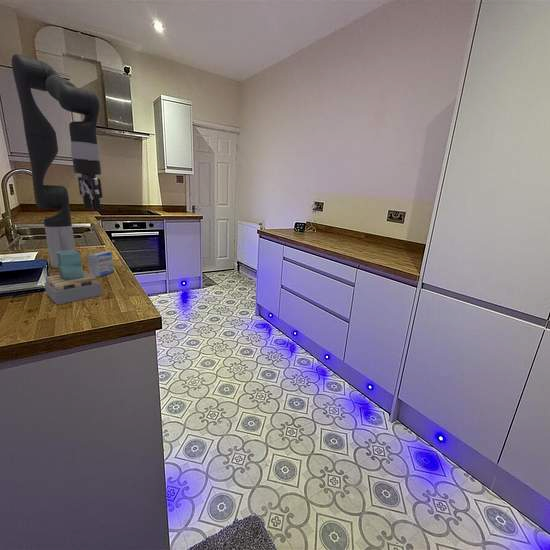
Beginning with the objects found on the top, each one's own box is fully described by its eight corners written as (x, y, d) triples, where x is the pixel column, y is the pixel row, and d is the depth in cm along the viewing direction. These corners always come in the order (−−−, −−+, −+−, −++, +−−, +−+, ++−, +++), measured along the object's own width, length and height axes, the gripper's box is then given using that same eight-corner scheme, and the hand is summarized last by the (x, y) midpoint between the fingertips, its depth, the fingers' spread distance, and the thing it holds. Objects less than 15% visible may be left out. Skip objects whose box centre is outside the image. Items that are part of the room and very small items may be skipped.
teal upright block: (59, 276, 91) (55, 252, 88) (78, 274, 94) (74, 250, 92) (64, 280, 88) (60, 254, 85) (83, 277, 91) (79, 252, 89)
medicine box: (99, 277, 111) (96, 255, 109) (89, 276, 112) (86, 254, 110) (114, 272, 119) (112, 251, 116) (105, 271, 119) (102, 250, 117)
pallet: (46, 282, 91) (45, 276, 90) (86, 276, 99) (85, 270, 98) (56, 291, 84) (55, 284, 83) (98, 283, 92) (97, 277, 92)
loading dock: (46, 294, 92) (44, 282, 91) (88, 286, 101) (87, 275, 100) (57, 304, 84) (55, 292, 83) (101, 295, 93) (100, 283, 92)
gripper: (66, 157, 94) (73, 207, 99) (79, 156, 85) (86, 212, 90) (91, 160, 99) (97, 207, 104) (107, 159, 91) (112, 211, 95)
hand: (92, 209), depth 97 cm, fingers open, 8 cm apart
